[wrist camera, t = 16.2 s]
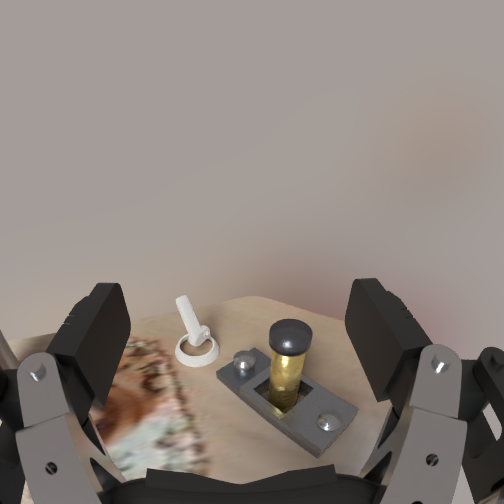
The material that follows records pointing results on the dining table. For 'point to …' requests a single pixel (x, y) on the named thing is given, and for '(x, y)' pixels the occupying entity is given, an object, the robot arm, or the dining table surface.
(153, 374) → the dining table surface
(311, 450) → the grey plate with studs
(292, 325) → the pin
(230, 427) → the dining table surface
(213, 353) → the white vr controller
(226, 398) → the dining table surface
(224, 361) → the dining table surface
